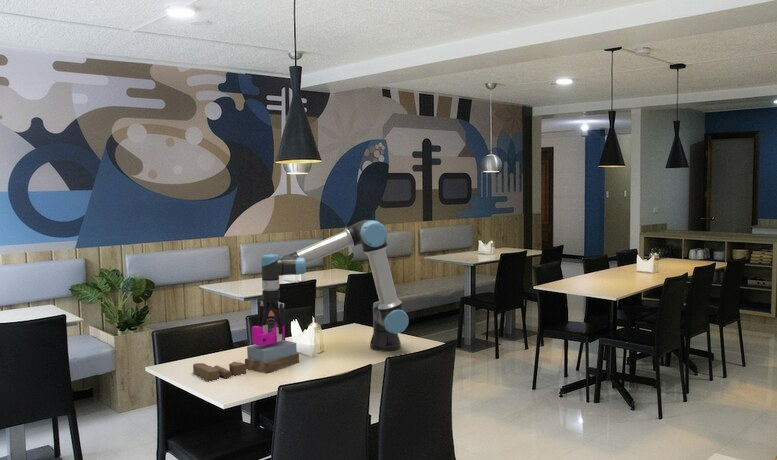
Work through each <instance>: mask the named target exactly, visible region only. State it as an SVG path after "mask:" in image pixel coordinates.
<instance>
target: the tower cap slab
mask: <svg viewBox="0 0 777 460" xmlns="http://www.w3.org/2000/svg"><path fill="white" fill-rule="evenodd" d="M246 349H247V350H246V351H247V358H250V359H254V360H257V361H261V362H268V361H272V360H275V359H279V358H283V357H287V356H291V355H294V354H297V353H298V352H297V342H293V341H289V340H286V339H285V340H282V341H280V342H275V343H271V344H267V345H263V346H259V345H255V344H252V345H249V346H248V345H247V346H246Z"/></svg>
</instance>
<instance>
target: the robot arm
mask: <svg viewBox="0 0 777 460" xmlns="http://www.w3.org/2000/svg"><path fill="white" fill-rule="evenodd" d="M387 238H388V231H387V228H386V227H385V225H383V223H381V222H379V221H378V220H373V219H363V220H360V221H358V222H356V223H354V224H352V225H350V226H347V227H345V228H344V231H341V232H339V233H337V234H335V235H332V236H330V237H328V238H325V239H323V240H320V241H318V242H315V243H313V244H310V245H308V246H306V247H304V248H301V249H299V250H296V251H294V252H291V253H289V254H283V255H282V256H281V257H280V258H279V254H274V253H273V254H271V253H269V254H264V255H262V256H261V265H260V266H261V284H262V286H261V287H262V289H263V290H262V291H261V292H262V294H261V295H262V299H263V300H261V301H258V302H257V306H258V308H257V309H258V310H257V324H260V325H261V326H260V327H262V329H263V332H264V333H266V334H268V325H266V324H267V323H266V322H267V319H268V315H269V312H270V310H271V311H272V312H273V313H274V316H275V319H276V322H277V325H278V326H277V327H276V331H277V342H279V341H282V334H283V326H284V325H285V326H286V325H287V316H286V303H285V302H280V297H281V294H280V291H281V290H280V276H294V275H297V276H298V275H299V276H300V275H304V274H305V273H306V271H307V265H308V264H311V263H313V262H315V261H318V260H320V259H323V258H324V257H327V256H329V255H332V254H334V253H336V252H339V251H342V250H343V249H346V248H349V247H351V248H353V247H356V246H360V245H361V247H362V252H363V253H364V254H366V255H367V258H368V261H369V265H370V266H369V267H370V269H371V273H372V274H371V275H372V277H373V281H374V285H375V289H376V294H377V297H378V301H375V302H373V304H372V324H373V325H372V326H373V327H372V328H373V329H372V330H373V333H372V335H371V339H370V342H369V344H370V345H369V347H370V349H371V350H373V351H378V350H392V351H396V350H395V349H397V350H399V349H401V348H400V347H402V344H401V339H400V336H399V334H401V333H402V332H404V331H405V330H406V329H407V327H408V326H409V324H410V323H409V321H410V319H409V316H408V314H407V312H406V311H405V310H404V306H403V305H404V304H403V302H402V300H400V299H399V298H398V295H397V291H396V287H395V283H394V280H393V276H392V275H393V274H392V271H391V267H390V264H389V260H388V255H387V251H386V250H387V248H388V241H387ZM278 306H279V307H278ZM279 312H280V313H279ZM398 348H399V349H398Z"/></svg>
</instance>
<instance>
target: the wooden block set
mask: <svg viewBox="0 0 777 460" xmlns="http://www.w3.org/2000/svg"><path fill="white" fill-rule="evenodd" d="M228 367H229V370H228V369H226V368H224V367H221V366H220V365H214V366H211V365H208V364H206V363H203V362H197V363H193V364H192V368H193V369H192V370H193V371H192V372H193V374H195V375H196V376H199V377H200V378H201V377H202V378H201V379H203V378H204V379H203V380H205V379H206V380H205V381H207V380H208V381H207V382H209V381H211V382H213V381H212V380H216V381H218V380H217V379H219V380H220V375H221V377H223V378H225V379H230V378H232V376H233V375H234V376H233V377H237V376H236V375H238V376H242V375H241V374H243V375H247V369H246V364H245V362H239V361H238V362H237V361H233V362H230V363H229V364H228ZM229 377H230V378H229Z"/></svg>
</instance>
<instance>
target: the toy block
mask: <svg viewBox="0 0 777 460" xmlns="http://www.w3.org/2000/svg"><path fill="white" fill-rule="evenodd" d="M277 326H278V325H277V322H276V323H275V327H274V329H273V330H272V331H271V332H270V333H268V334H266V333H264V332H263V329H262V327H261V326H260V325H253V326H251V342H252V345H259V346H263V345H267V344H271V343H275V342H277V331H276V327H277ZM282 339H285V340H286V329H285V330H284V326H283V334H282ZM279 342H280V341H279Z"/></svg>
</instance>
